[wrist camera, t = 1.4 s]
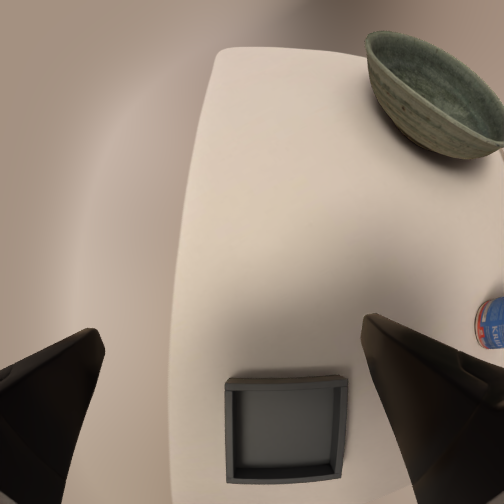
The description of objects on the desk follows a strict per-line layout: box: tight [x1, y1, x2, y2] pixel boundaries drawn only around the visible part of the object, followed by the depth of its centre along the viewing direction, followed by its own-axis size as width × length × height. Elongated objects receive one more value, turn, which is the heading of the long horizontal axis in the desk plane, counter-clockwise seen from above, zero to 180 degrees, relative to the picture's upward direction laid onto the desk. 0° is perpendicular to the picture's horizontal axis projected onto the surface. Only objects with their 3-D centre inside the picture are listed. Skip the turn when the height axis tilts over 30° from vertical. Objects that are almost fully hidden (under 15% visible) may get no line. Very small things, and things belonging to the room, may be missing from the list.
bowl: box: [365, 31, 504, 159], centre depth 23 cm, size 21×21×10 cm
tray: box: [225, 375, 348, 484], centre depth 18 cm, size 9×9×3 cm
